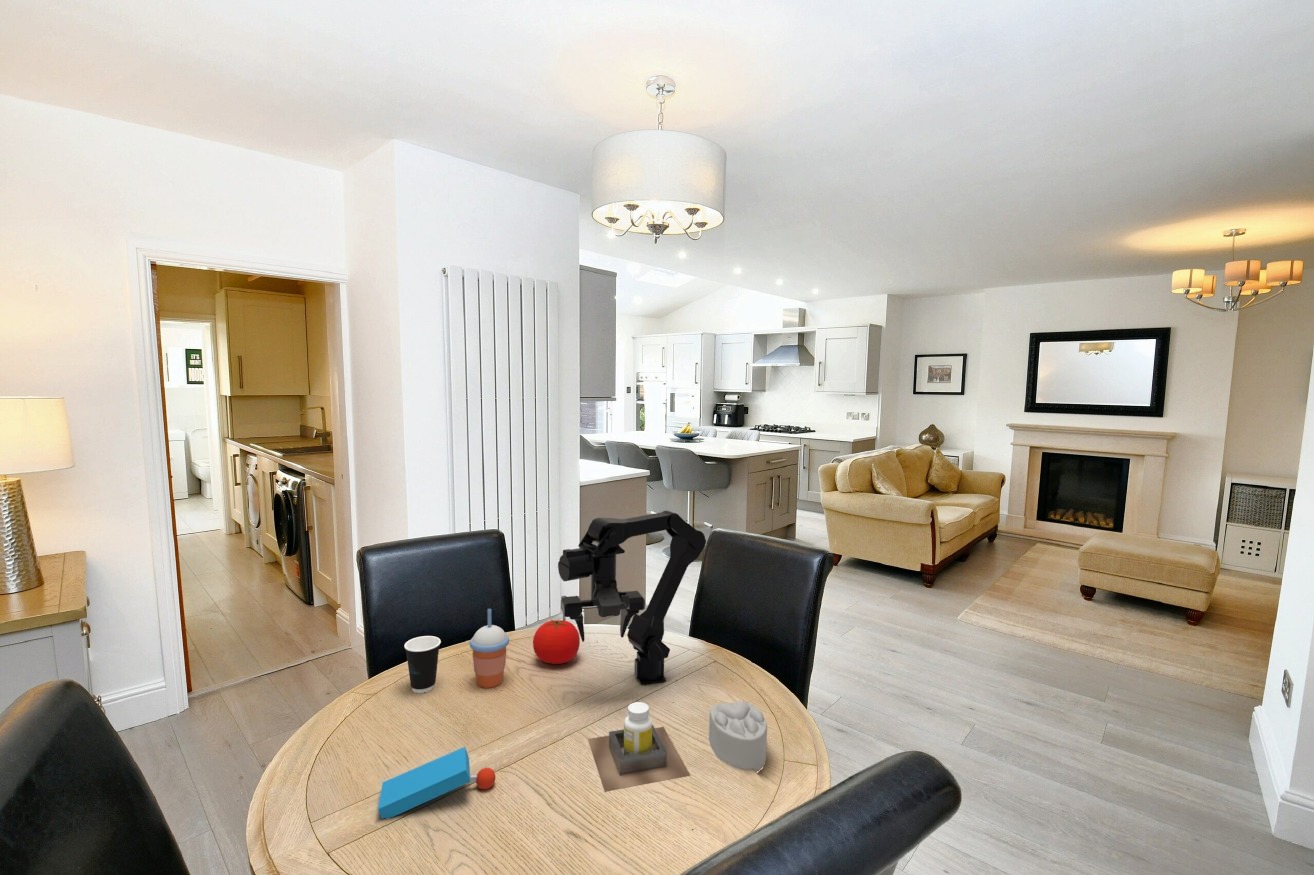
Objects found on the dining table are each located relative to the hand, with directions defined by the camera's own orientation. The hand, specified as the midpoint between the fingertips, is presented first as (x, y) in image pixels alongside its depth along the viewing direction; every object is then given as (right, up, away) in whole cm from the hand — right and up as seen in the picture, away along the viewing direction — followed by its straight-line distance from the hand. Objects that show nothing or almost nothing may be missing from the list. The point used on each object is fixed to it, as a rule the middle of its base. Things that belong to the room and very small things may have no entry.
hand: (602, 639), depth 137 cm
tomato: (-14, -12, +17) cm, 25 cm away
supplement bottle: (+9, -14, -24) cm, 30 cm away
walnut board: (+9, -15, -24) cm, 30 cm away
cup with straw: (-28, -12, +5) cm, 31 cm away
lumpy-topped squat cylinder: (+29, -16, -21) cm, 39 cm away
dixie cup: (-42, -12, +2) cm, 44 cm away
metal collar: (+9, -14, -24) cm, 29 cm away
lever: (-25, -16, -34) cm, 46 cm away
